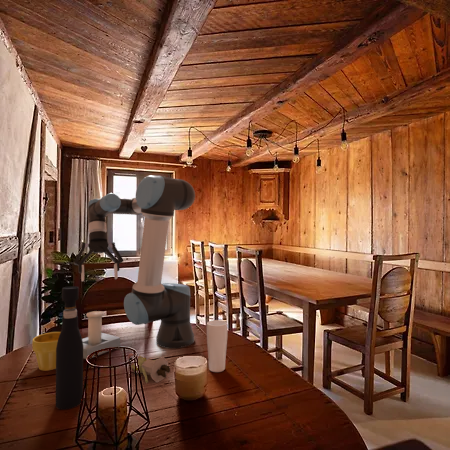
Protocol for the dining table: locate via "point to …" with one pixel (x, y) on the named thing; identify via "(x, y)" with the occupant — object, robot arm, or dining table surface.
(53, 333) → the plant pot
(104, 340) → the jig
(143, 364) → the figurine
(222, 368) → the drinking glass
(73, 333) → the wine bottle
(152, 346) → the dining table surface
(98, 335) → the cylinder
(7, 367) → the dining table surface
